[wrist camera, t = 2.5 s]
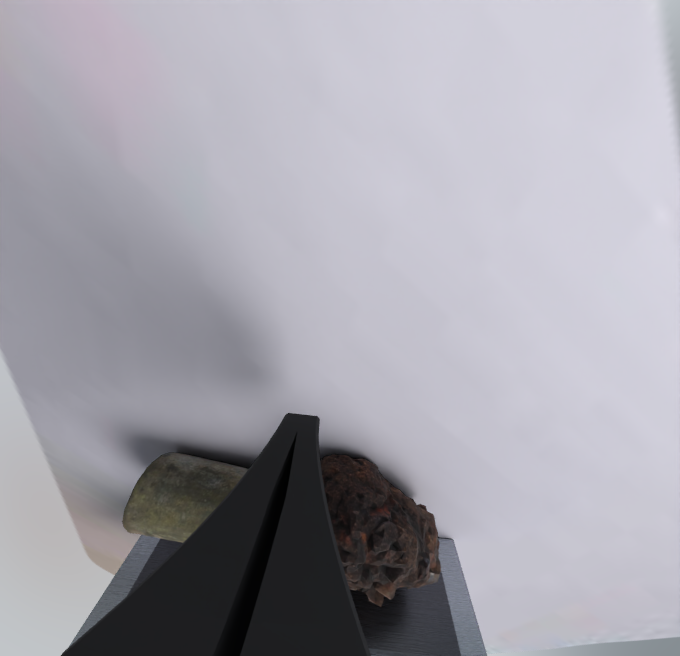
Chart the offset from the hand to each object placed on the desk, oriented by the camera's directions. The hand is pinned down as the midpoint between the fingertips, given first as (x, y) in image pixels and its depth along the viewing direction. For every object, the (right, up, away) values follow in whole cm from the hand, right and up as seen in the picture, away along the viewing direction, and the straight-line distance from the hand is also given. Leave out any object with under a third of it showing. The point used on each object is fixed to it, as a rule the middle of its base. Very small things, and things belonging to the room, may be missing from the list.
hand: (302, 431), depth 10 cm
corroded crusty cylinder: (-1, -5, +7) cm, 9 cm away
